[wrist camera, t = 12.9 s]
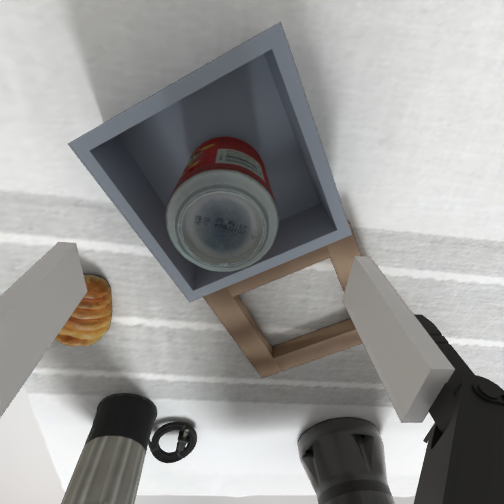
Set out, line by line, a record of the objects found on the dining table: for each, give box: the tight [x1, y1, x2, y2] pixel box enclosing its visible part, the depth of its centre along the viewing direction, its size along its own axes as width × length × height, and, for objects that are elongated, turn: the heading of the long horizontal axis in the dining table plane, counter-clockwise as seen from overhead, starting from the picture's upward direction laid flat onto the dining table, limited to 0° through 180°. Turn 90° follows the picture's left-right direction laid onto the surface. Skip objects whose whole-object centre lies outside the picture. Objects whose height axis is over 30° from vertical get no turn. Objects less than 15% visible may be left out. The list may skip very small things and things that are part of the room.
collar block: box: [203, 220, 363, 378], centre depth 38 cm, size 18×18×2 cm
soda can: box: [166, 136, 279, 272], centre depth 23 cm, size 7×7×12 cm
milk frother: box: [61, 394, 197, 504], centre depth 44 cm, size 14×16×15 cm
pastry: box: [55, 275, 112, 346], centre depth 35 cm, size 9×7×4 cm
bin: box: [68, 22, 352, 302], centre depth 26 cm, size 16×16×7 cm
